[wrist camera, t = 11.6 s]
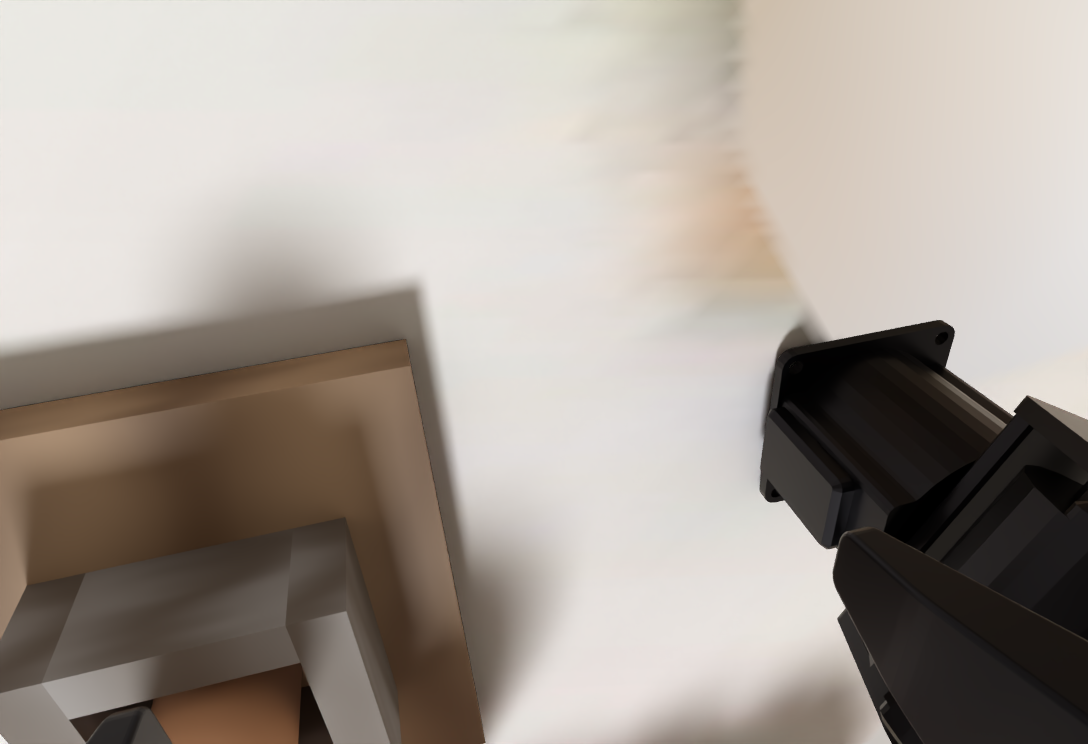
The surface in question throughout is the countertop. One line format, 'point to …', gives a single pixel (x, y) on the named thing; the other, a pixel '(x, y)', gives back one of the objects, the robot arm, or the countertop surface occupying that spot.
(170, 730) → the peg
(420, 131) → the countertop surface
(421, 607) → the socket board
